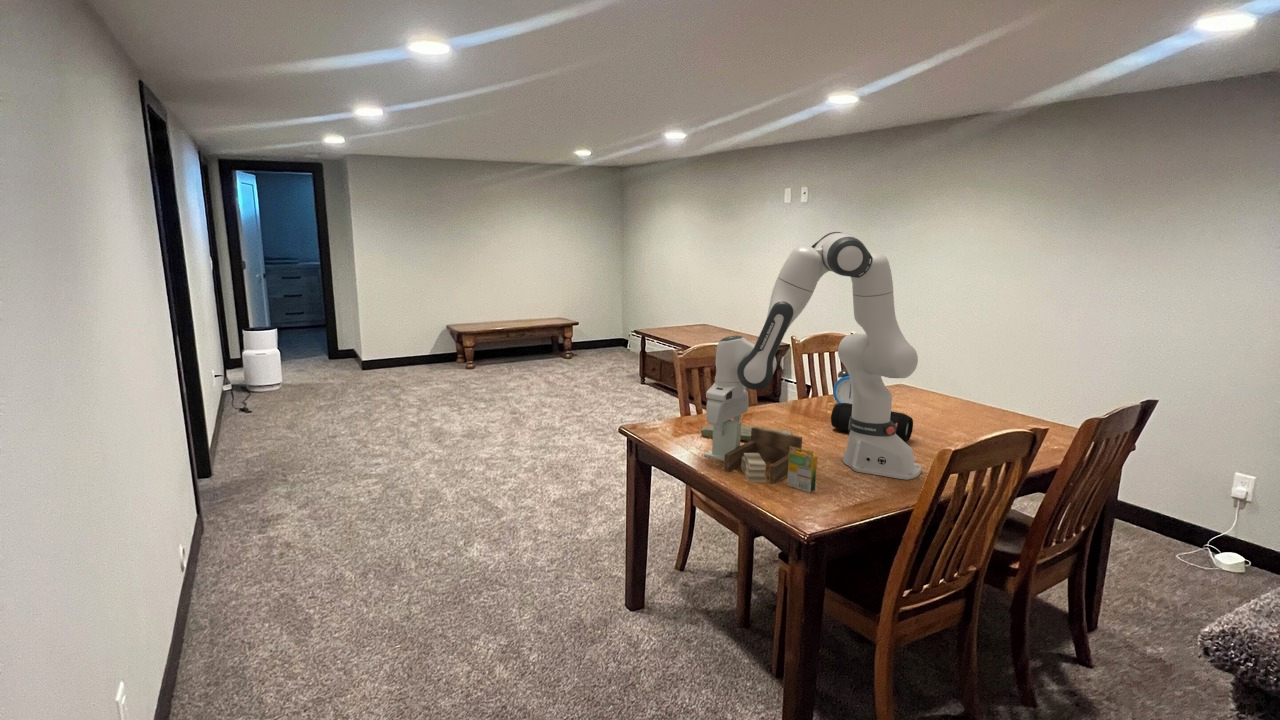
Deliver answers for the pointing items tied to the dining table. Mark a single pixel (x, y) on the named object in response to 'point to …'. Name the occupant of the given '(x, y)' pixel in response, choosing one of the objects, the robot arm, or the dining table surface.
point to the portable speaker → (903, 421)
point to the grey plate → (713, 456)
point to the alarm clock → (843, 388)
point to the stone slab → (745, 432)
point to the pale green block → (727, 438)
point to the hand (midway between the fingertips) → (727, 432)
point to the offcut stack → (753, 467)
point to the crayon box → (802, 469)
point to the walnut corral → (766, 451)
